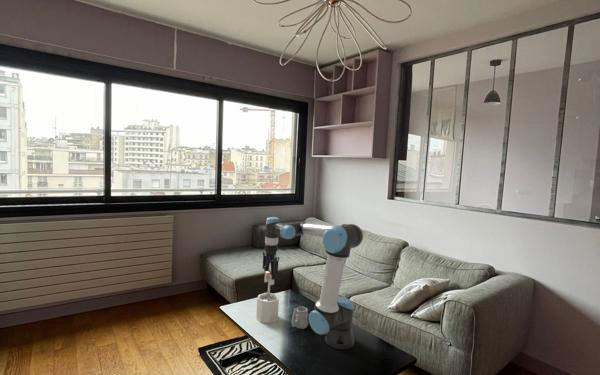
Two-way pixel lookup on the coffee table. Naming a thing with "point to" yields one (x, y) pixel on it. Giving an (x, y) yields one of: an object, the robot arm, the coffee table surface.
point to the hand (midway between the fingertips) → (269, 283)
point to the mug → (300, 318)
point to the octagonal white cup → (267, 308)
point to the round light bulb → (268, 288)
